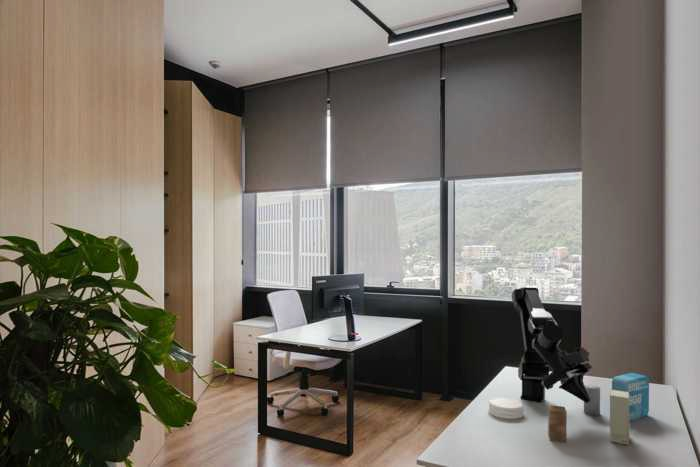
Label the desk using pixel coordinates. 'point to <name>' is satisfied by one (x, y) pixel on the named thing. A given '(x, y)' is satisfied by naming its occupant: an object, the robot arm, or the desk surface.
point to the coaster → (506, 408)
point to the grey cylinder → (592, 400)
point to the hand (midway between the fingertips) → (588, 401)
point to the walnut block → (557, 423)
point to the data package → (634, 393)
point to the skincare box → (619, 417)
